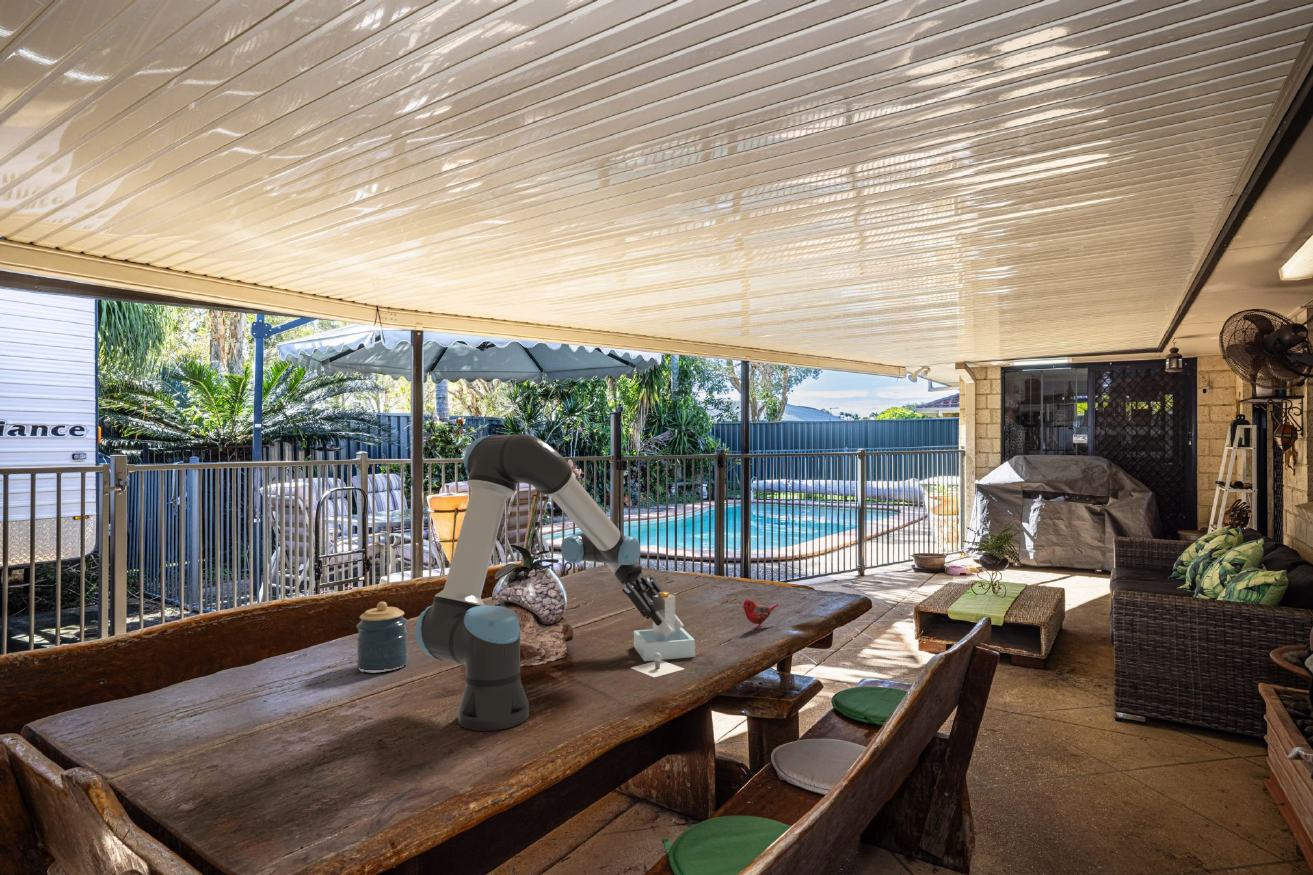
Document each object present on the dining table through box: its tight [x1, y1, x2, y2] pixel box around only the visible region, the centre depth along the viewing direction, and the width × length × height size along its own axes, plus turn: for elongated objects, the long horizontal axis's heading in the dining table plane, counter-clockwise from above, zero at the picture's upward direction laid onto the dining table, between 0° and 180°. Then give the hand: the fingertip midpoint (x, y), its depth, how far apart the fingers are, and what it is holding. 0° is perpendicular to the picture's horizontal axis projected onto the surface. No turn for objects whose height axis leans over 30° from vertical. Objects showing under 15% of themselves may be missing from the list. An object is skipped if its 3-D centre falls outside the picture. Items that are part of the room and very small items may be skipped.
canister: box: [355, 601, 409, 670], centre depth 197 cm, size 13×13×18 cm
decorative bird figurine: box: [742, 599, 779, 630], centre depth 230 cm, size 3×18×10 cm, turn 132°
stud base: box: [630, 653, 685, 678], centre depth 186 cm, size 10×10×6 cm
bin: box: [633, 626, 696, 662], centre depth 201 cm, size 14×14×6 cm
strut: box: [652, 591, 676, 642], centre depth 201 cm, size 4×4×14 cm
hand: (674, 630), depth 199 cm, fingers open, 5 cm apart
